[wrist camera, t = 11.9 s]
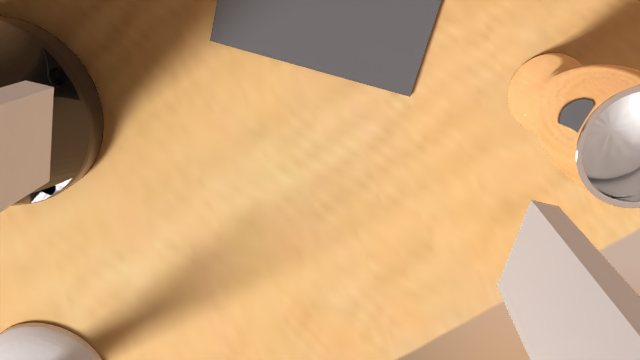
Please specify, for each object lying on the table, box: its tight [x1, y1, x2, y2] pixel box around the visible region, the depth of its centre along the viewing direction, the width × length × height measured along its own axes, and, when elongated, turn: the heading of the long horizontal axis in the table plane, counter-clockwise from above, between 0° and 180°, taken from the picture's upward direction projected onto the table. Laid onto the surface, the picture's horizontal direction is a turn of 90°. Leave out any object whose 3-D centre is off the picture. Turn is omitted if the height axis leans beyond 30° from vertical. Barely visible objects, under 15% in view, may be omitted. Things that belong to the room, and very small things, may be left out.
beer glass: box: [507, 53, 640, 208], centre depth 34 cm, size 7×7×15 cm
